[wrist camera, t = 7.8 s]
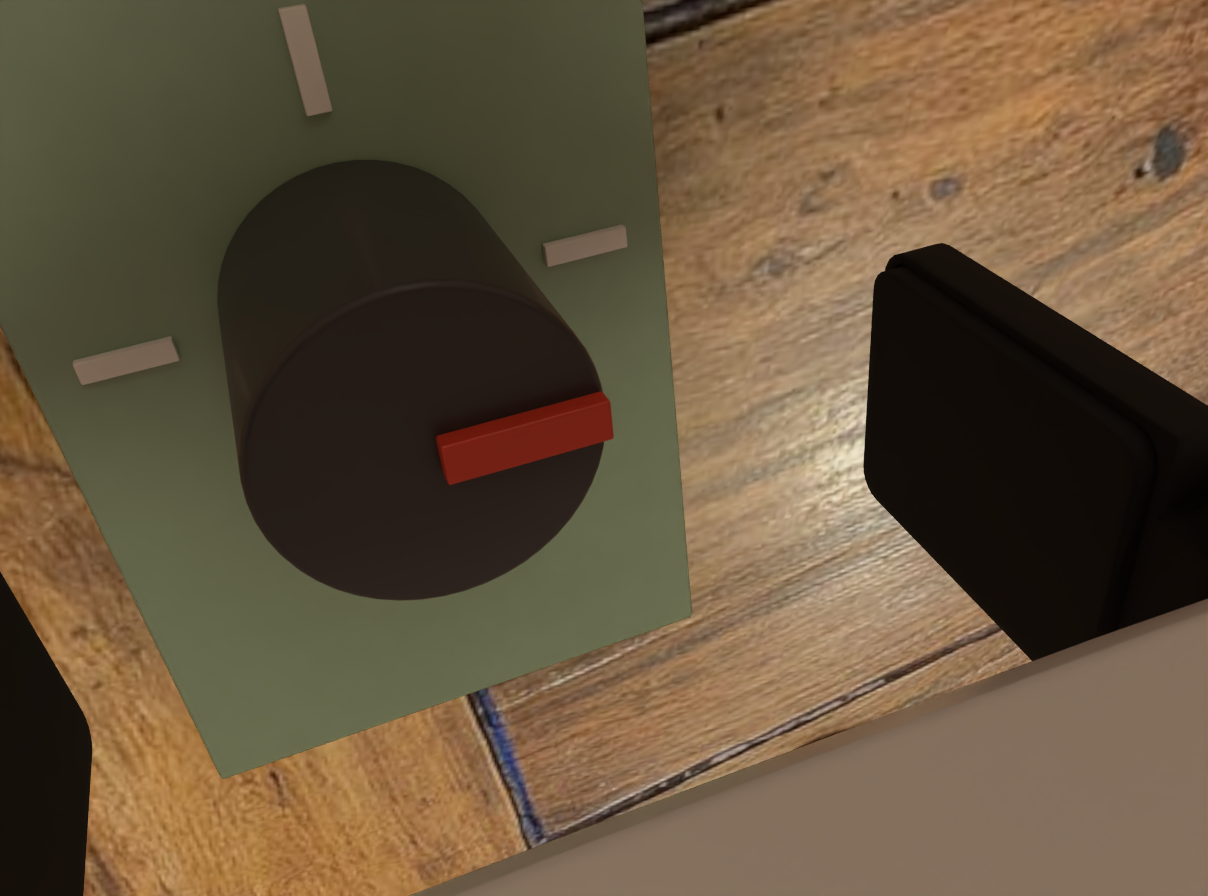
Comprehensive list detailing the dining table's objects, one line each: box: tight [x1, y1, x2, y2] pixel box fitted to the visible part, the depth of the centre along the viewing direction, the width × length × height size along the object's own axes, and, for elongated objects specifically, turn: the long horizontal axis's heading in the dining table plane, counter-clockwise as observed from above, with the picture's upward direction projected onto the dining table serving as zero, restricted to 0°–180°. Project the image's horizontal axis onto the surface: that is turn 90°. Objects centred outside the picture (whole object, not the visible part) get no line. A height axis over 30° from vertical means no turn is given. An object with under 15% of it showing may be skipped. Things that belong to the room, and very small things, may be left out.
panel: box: [0, 0, 692, 778], centre depth 18 cm, size 14×10×3 cm
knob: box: [217, 160, 614, 601], centre depth 14 cm, size 4×4×5 cm
